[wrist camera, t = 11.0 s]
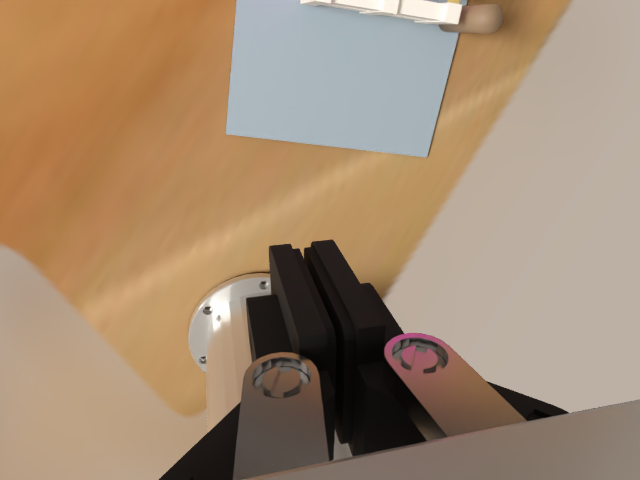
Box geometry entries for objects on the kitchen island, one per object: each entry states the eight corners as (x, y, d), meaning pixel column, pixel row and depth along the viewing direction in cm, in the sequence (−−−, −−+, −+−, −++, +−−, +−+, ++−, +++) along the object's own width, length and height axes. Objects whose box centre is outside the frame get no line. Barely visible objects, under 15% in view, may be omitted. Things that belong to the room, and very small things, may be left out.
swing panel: (432, 7, 35) (465, 5, 31) (428, 24, 36) (461, 24, 31) (302, -15, 32) (318, -22, 28) (300, 3, 33) (315, 0, 29)
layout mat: (425, 156, 41) (427, 157, 41) (225, 133, 36) (226, 134, 36) (478, -50, 35) (481, -51, 34) (245, -111, 30) (246, -113, 30)
